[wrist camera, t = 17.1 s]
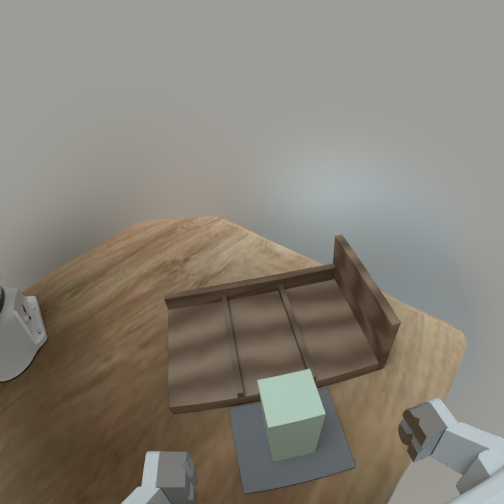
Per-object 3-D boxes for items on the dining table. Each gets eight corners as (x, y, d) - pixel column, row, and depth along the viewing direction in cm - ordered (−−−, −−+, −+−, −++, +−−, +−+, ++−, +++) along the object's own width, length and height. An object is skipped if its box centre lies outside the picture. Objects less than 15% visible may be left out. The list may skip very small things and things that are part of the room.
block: (314, 452, 31) (325, 413, 24) (273, 461, 31) (268, 427, 24) (304, 417, 35) (309, 368, 28) (264, 426, 35) (257, 380, 28)
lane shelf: (383, 368, 40) (400, 322, 34) (173, 413, 37) (147, 375, 31) (337, 282, 55) (342, 234, 49) (171, 313, 52) (155, 267, 46)
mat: (355, 467, 29) (355, 466, 29) (244, 494, 28) (244, 493, 28) (326, 388, 38) (327, 387, 38) (229, 409, 37) (229, 408, 37)
